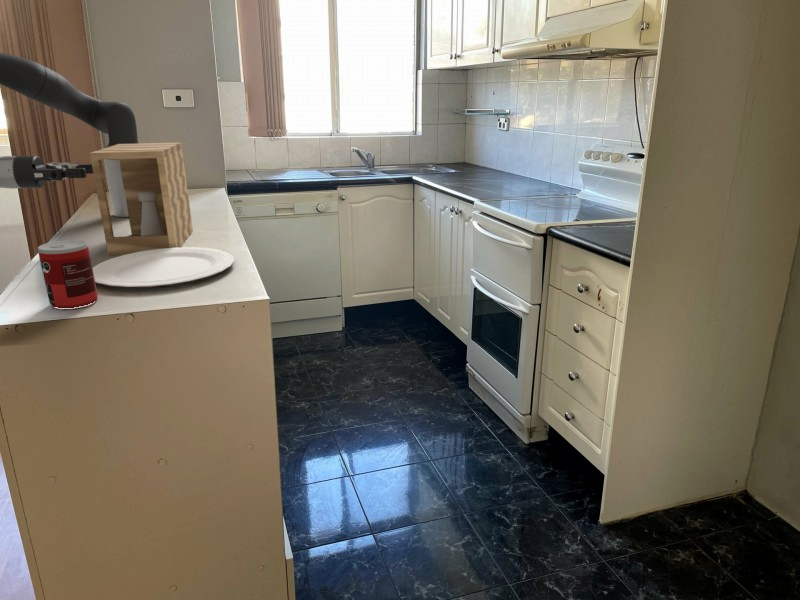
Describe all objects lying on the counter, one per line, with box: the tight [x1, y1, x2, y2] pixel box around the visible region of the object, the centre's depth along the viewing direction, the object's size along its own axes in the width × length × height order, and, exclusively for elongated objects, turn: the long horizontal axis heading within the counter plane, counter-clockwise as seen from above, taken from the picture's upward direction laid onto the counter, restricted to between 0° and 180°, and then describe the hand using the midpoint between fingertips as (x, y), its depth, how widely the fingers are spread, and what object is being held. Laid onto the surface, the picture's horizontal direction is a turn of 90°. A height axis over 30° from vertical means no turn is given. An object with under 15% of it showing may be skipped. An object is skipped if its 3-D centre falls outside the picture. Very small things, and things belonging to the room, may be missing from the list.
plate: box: [92, 246, 235, 289], centre depth 128 cm, size 29×29×2 cm
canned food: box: [37, 239, 99, 308], centre depth 107 cm, size 8×8×11 cm
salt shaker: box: [138, 190, 167, 236], centre depth 150 cm, size 6×6×13 cm
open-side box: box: [89, 142, 194, 256], centre depth 148 cm, size 22×16×24 cm
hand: (91, 170), depth 144 cm, fingers open, 8 cm apart
